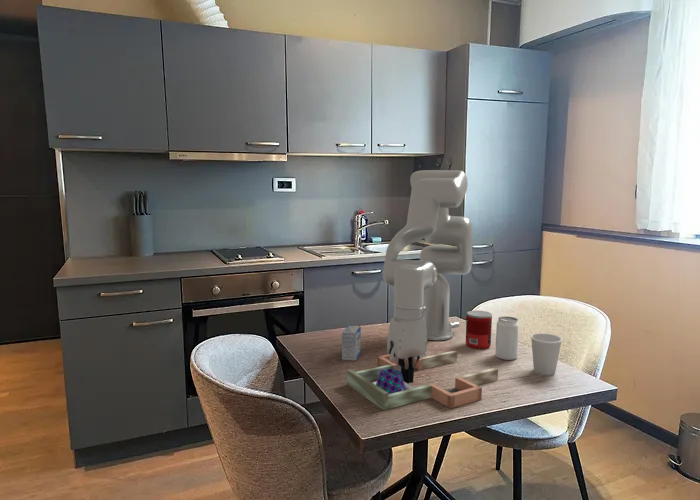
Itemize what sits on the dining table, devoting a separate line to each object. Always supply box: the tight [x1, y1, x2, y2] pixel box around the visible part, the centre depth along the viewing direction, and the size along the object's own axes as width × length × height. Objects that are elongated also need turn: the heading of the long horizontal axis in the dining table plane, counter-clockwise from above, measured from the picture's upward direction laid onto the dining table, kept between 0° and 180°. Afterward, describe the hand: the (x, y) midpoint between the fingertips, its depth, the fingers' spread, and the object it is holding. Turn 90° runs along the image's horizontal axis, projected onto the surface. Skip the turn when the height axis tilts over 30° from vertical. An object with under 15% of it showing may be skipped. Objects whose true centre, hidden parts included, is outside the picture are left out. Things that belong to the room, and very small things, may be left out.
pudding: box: [372, 369, 414, 394], centre depth 128 cm, size 12×12×5 cm
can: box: [495, 316, 520, 361], centre depth 153 cm, size 6×6×12 cm
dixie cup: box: [530, 332, 563, 376], centre depth 141 cm, size 8×8×10 cm
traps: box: [376, 353, 483, 409], centre depth 134 cm, size 10×31×3 cm, turn 30°
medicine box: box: [341, 325, 362, 362], centre depth 153 cm, size 8×4×9 cm, turn 168°
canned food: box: [465, 310, 493, 350], centre depth 163 cm, size 8×8×11 cm
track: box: [346, 350, 499, 411], centre depth 134 cm, size 37×17×4 cm, turn 120°
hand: (407, 381), depth 131 cm, fingers closed
